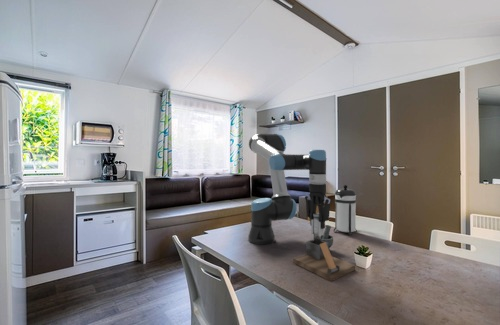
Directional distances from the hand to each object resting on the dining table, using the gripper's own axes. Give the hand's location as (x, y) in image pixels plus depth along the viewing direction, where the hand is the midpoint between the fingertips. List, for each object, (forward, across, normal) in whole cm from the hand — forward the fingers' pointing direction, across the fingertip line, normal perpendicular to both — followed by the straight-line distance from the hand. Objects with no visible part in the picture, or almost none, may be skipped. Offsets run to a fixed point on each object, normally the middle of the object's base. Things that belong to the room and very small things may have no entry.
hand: (317, 234), depth 111 cm
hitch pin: (+5, 0, 0) cm, 5 cm away
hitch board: (+12, +6, -4) cm, 14 cm away
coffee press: (+12, -18, +50) cm, 54 cm away
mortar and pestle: (+12, -6, +12) cm, 18 cm away
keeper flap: (+5, +11, -8) cm, 15 cm away
